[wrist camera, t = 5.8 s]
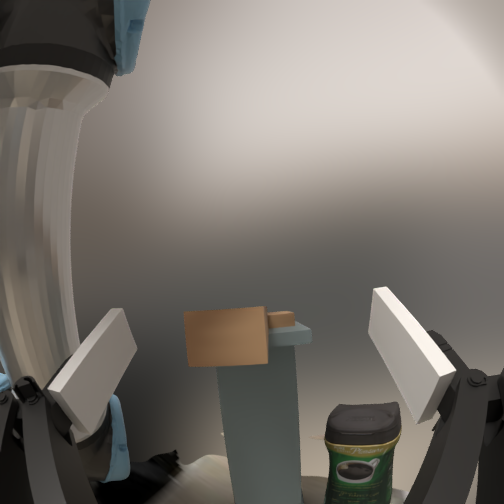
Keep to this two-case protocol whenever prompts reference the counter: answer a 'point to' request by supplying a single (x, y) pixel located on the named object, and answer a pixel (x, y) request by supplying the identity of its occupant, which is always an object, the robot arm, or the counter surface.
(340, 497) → the coffee jar
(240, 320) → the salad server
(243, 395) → the stand
